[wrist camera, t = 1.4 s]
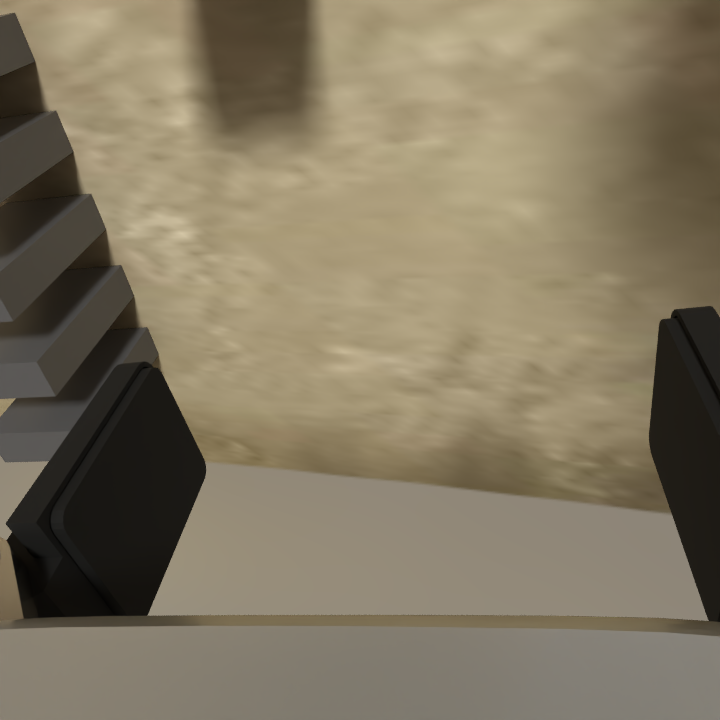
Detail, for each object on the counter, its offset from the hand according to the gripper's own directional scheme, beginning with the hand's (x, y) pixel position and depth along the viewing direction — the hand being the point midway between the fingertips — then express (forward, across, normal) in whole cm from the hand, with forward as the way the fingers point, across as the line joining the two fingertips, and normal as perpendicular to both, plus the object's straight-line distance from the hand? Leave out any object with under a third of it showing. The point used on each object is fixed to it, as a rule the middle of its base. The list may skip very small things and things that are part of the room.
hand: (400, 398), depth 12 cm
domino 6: (+20, +21, +11) cm, 31 cm away
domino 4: (+20, +20, +2) cm, 29 cm away
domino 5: (+20, +21, +7) cm, 30 cm away
